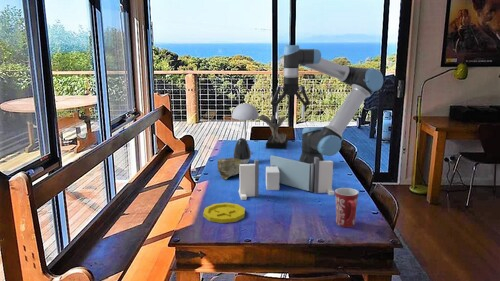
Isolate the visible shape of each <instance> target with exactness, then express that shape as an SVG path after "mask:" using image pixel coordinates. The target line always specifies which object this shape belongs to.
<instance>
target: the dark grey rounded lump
mask: <svg viewBox="0 0 500 281" xmlns="http://www.w3.org/2000/svg"><path fill="white" fill-rule="evenodd" d="M250 151H251V149H250V146H249V143H248V140H247V139H246V140H245V137H244V138H243V137H241V138H239V139H238V140H237V142H236V143H235V146H234V150H233V157H232V158H234V159H235V158H237V159H239V160H241V162H245V164H249V162H250V160H251V157H252V156H251V155H252V154H250Z"/></svg>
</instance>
